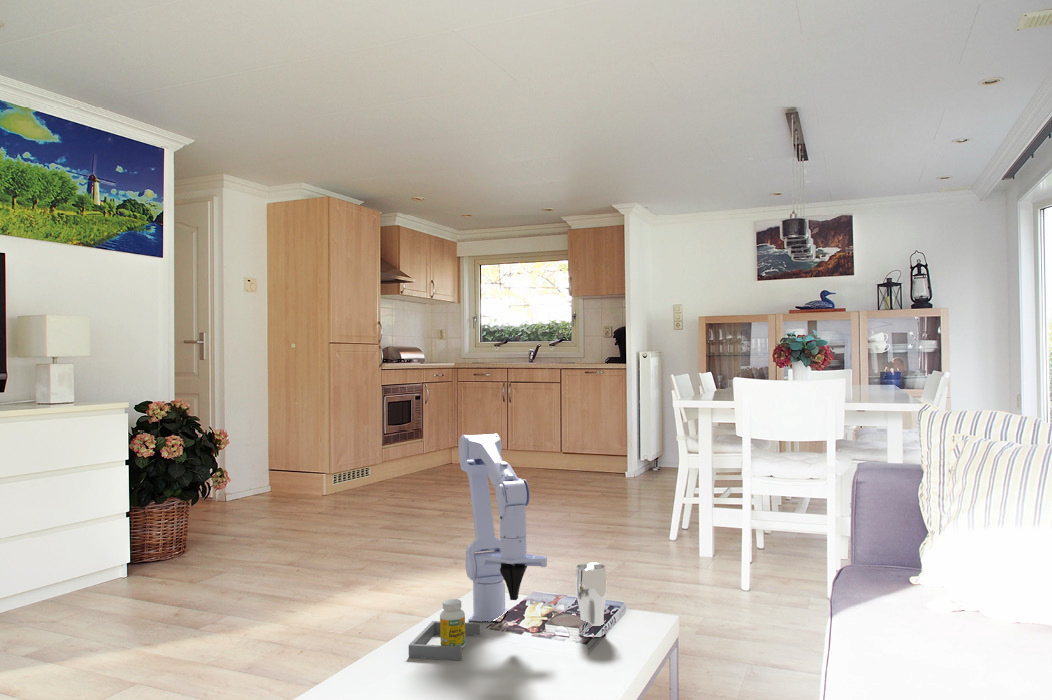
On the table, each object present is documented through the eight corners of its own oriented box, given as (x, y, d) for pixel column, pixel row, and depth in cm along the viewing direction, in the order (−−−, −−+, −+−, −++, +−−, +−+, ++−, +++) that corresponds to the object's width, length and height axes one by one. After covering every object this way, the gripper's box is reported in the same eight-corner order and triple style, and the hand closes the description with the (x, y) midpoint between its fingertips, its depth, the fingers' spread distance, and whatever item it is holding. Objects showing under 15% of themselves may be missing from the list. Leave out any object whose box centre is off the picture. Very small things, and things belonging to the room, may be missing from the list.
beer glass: (607, 628, 169) (606, 562, 170) (608, 639, 163) (606, 570, 163) (577, 628, 170) (575, 562, 171) (576, 638, 163) (574, 570, 164)
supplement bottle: (457, 640, 164) (457, 596, 164) (470, 647, 159) (469, 602, 159) (436, 645, 161) (435, 600, 161) (448, 653, 156) (447, 607, 156)
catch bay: (432, 632, 169) (432, 620, 169) (480, 634, 167) (480, 623, 167) (408, 657, 154) (408, 645, 154) (460, 660, 152) (460, 648, 152)
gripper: (476, 538, 160) (477, 602, 160) (542, 540, 157) (543, 605, 157) (484, 532, 167) (485, 593, 166) (548, 533, 164) (549, 596, 164)
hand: (514, 598), depth 162 cm, fingers closed
